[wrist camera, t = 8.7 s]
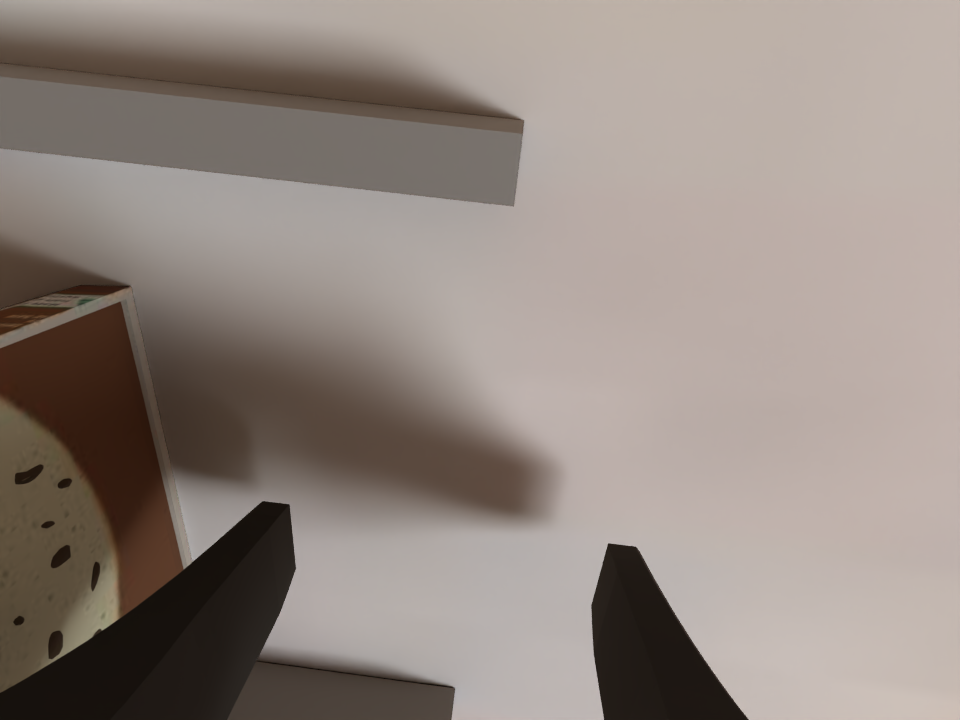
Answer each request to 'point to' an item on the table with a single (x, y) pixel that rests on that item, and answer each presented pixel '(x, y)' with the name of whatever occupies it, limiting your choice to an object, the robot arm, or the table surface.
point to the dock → (282, 156)
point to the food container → (79, 475)
